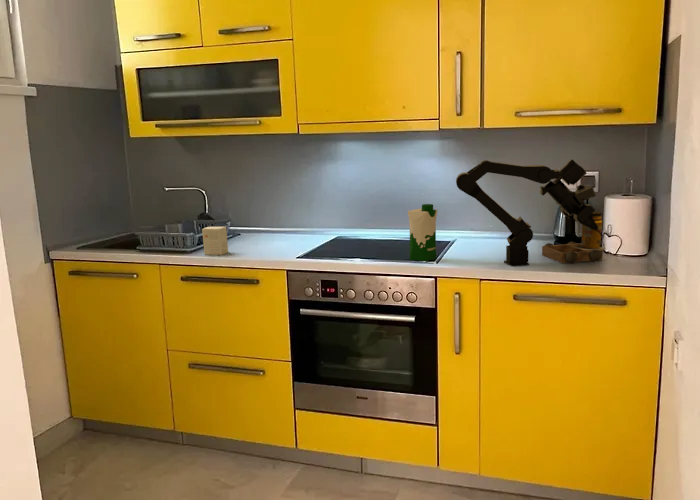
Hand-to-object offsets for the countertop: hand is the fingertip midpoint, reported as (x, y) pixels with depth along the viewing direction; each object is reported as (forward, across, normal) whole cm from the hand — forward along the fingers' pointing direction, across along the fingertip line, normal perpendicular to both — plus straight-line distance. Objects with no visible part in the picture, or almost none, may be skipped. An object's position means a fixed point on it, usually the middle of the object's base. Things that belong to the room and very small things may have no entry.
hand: (593, 227), depth 207 cm
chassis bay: (+6, +9, +11) cm, 16 cm away
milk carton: (-30, +12, +49) cm, 59 cm away
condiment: (+4, 0, +6) cm, 7 cm away
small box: (-85, +34, +107) cm, 141 cm away
